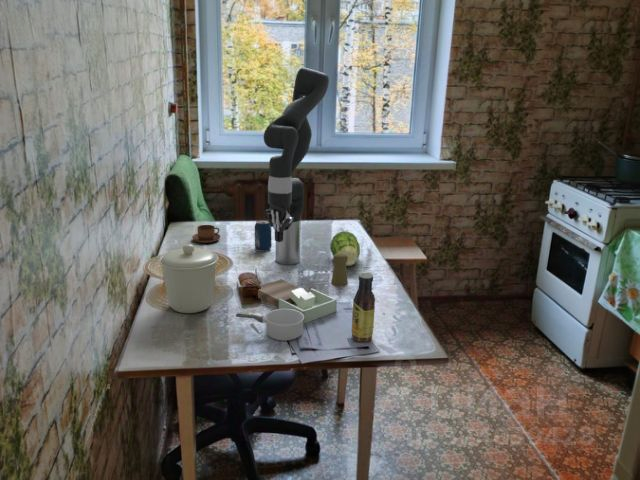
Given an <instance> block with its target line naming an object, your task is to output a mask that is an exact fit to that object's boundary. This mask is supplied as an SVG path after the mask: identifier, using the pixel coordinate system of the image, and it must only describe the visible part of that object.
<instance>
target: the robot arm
mask: <svg viewBox="0 0 640 480" xmlns="http://www.w3.org/2000/svg"><path fill="white" fill-rule="evenodd" d="M329 80H330V79H329V76H328V75H327V74H326V73H325V72H321V71H318V70H315V69H311V68H308V67H300V68H299V69H298V71H297V73H296V76H295V79H294V86H293V91H292V92H293V93H292V94H293V95H292V99H291V100H292V101H291V102H290V103H289V104H288V105H287V106H286V107H285V108H284V110H283V112H282V114H281V115H280V116H278V118H277V117H276V119H275V120H273V121H272V122H271V123H270V124H269V125H268V126H267V127H266V128H265V130H264V133H263V142H264V144H265V145H266V146H267V147H268V148H270V149H278V150H282V153H281V154H280V155H273V156H272V157H270V159H269V165H268V166H269V168H268V184H267V204H269V208H268V209H266V210H265V211H264V212H265V216H266V217H267V220H268V221H269V223H270V226H271V228H273V230H274V241H275V260H276V261H277V263H279V264H280V265H284V266H285V265H288V266H291V265H296V264H299V263H300V262H301V241H302V240H301V235H302V234H301V233H302V231H301V228H302V215H303V212H304V211H303V210H304V199H305V188H304V184H303V181H302V180H301V179H300V178H298V177H293V175H294V172H295V170H296V168H297V167H298V166H299V165H300V163H301V162H302V161H303V160H304V158H306V155H307V154H308V151H309V149H310V145H311V140H312V135H313V133H312V129H311V128H312V127H311V125H310V122H309V120H308V117H307V116H308V115H309V113H311V112H312V111H313V110H314V109H315V108H316V106H317V105H318V104H319V103H320V102H321V101H322V100H323V99H324V97H325V95H326V93H327V92H328V89H329V83H330V81H329Z"/></svg>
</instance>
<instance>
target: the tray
mask: <svg viewBox="0 0 640 480" xmlns="http://www.w3.org/2000/svg"><path fill="white" fill-rule="evenodd" d="M309 292H311V293H312V294H313V295H315V296H316V297H315V300H314V304H313V307H312V308H309V309H306V310H302V309H300V308H298V307H297V304H296V303H295V304H290V303H288V302H286V301H284V300H282V299H279V309H293V310H297V311H299V312H301V313H303V315H304V320H303V325H304V324H306V323H309V322H312V321H314V320H317V319H321V318H323V317H325V316H328V315H330V314H333V313H337V309H338V308H337V307H338V306H337V304H338V303H337V302H338V301H337V300H338V299H336V298H334V297H332V296H329V295H328V294H325V293H322V292H321V291H319V290H317V289H314V288H310V290H309Z"/></svg>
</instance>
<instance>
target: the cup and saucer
mask: <svg viewBox="0 0 640 480" xmlns="http://www.w3.org/2000/svg"><path fill="white" fill-rule="evenodd" d="M216 230H217V232H216ZM219 233H220V228H219V227H215V225H212V224H202V225H198V226H197V233H195V234H193V235H192V237H191V238H192V240H193V241H194V242H196V243H201V244H202V243H204V244H209V243H214V242H217V241H218V240H220V238H221V234H219Z"/></svg>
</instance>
